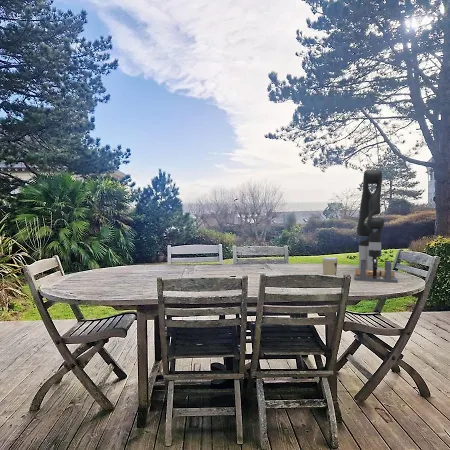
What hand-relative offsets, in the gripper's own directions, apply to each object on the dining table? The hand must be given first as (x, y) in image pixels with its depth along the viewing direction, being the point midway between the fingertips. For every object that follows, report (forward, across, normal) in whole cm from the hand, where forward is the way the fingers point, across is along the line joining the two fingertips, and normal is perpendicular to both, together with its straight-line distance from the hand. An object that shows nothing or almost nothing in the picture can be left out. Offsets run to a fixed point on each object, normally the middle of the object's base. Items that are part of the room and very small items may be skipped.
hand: (374, 274), depth 242 cm
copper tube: (-1, 0, 0) cm, 1 cm away
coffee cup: (+1, +10, -27) cm, 29 cm away
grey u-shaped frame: (+1, +13, 0) cm, 13 cm away
